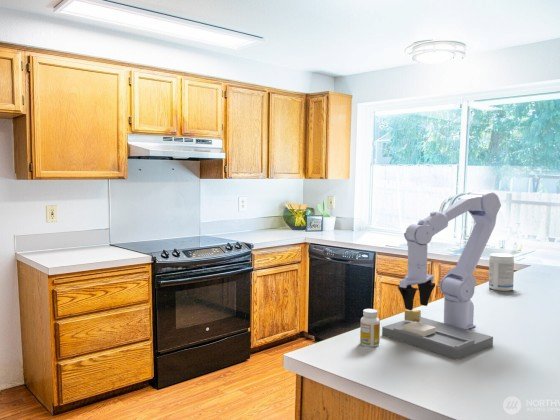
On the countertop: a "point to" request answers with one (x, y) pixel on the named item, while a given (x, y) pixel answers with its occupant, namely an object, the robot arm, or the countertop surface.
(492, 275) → the supplement tub
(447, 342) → the grey slotted tray
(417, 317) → the gold metal block
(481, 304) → the countertop surface
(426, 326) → the cover
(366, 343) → the supplement bottle
